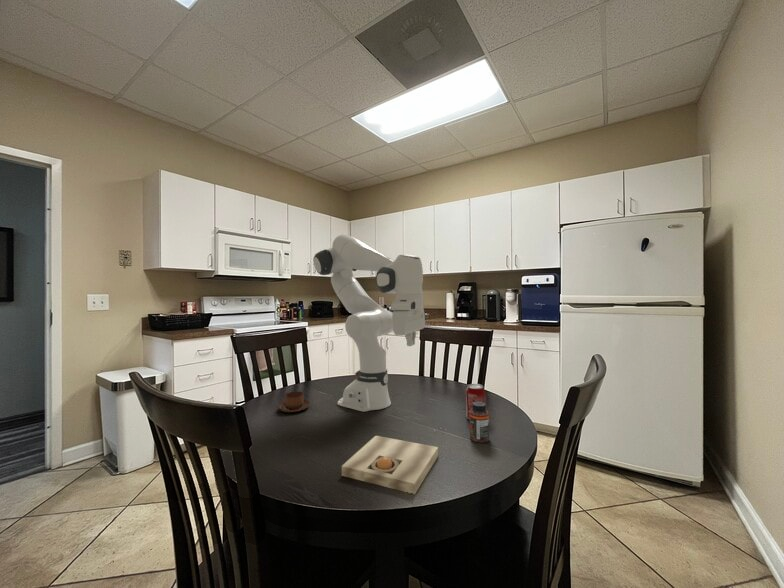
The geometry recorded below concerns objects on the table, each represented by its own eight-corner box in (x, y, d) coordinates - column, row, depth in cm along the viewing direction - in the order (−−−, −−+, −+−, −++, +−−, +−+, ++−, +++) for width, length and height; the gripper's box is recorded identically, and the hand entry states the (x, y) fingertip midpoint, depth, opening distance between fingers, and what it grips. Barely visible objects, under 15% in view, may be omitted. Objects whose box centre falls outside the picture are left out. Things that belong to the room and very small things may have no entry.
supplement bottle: (467, 435, 106) (466, 400, 106) (485, 434, 106) (484, 399, 106) (473, 444, 100) (472, 407, 100) (492, 442, 100) (491, 406, 100)
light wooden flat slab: (341, 475, 84) (341, 465, 84) (375, 443, 101) (375, 435, 101) (414, 494, 76) (414, 483, 76) (438, 455, 93) (438, 447, 93)
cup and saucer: (272, 412, 130) (271, 397, 130) (292, 402, 141) (291, 388, 141) (297, 416, 125) (296, 400, 125) (315, 406, 136) (315, 391, 136)
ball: (373, 463, 83) (379, 451, 87) (375, 475, 85) (381, 463, 88) (387, 467, 82) (393, 455, 85) (389, 479, 83) (395, 467, 87)
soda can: (486, 423, 115) (485, 389, 115) (466, 421, 117) (466, 388, 116) (484, 415, 122) (484, 383, 122) (466, 414, 123) (465, 383, 123)
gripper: (412, 302, 118) (413, 340, 118) (388, 305, 100) (389, 350, 100) (429, 302, 116) (429, 341, 116) (407, 304, 97) (408, 351, 97)
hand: (410, 345), depth 108 cm, fingers closed
